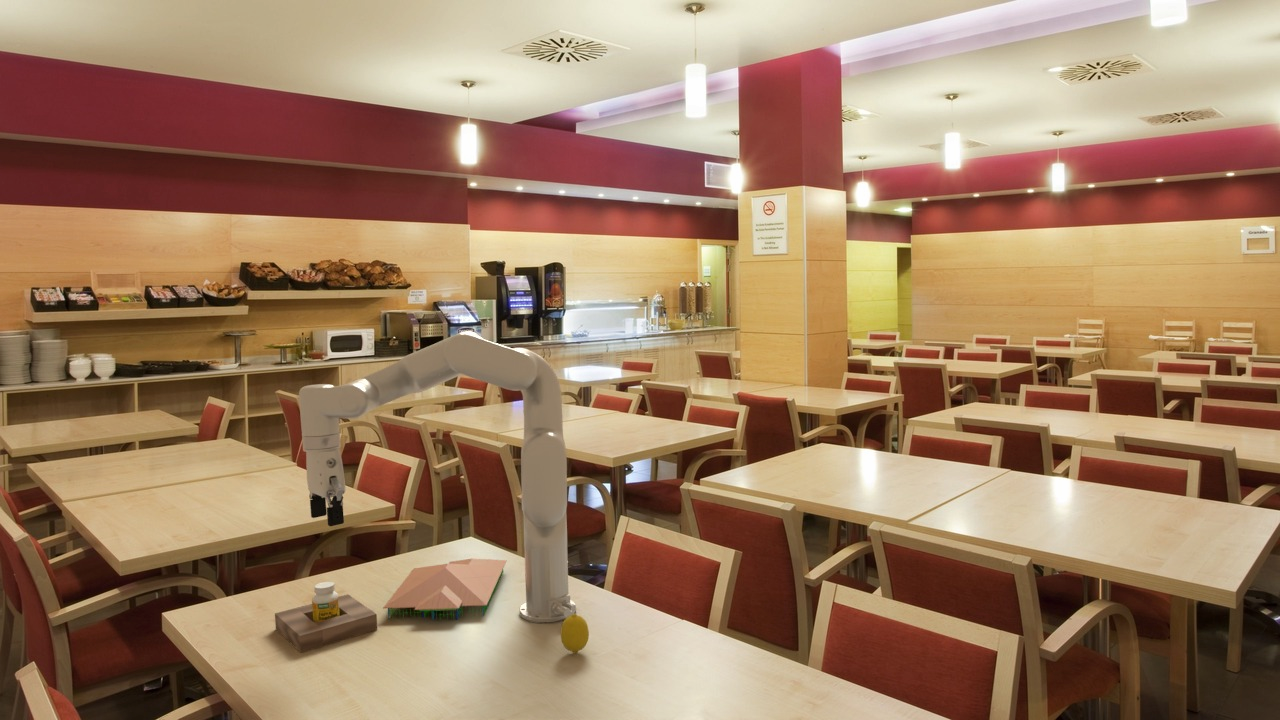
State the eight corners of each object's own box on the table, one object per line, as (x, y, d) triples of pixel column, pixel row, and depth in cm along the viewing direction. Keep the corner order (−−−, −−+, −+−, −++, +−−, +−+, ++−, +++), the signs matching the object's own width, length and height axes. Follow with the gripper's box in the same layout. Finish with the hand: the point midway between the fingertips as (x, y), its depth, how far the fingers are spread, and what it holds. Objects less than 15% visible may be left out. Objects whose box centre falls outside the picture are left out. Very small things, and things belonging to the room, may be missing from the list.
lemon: (593, 649, 160) (592, 610, 159) (582, 661, 154) (581, 621, 154) (568, 645, 161) (567, 607, 161) (556, 657, 156) (555, 618, 156)
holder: (377, 629, 171) (376, 613, 171) (300, 652, 161) (299, 635, 161) (348, 609, 183) (347, 594, 183) (275, 629, 173) (274, 613, 173)
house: (379, 627, 174) (378, 591, 173) (418, 574, 207) (417, 544, 206) (484, 624, 174) (483, 588, 174) (507, 572, 207) (506, 542, 206)
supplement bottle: (337, 620, 176) (334, 578, 175) (342, 629, 171) (340, 585, 171) (311, 626, 173) (308, 583, 172) (316, 635, 168) (314, 591, 168)
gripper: (355, 444, 166) (360, 524, 168) (324, 435, 179) (329, 510, 180) (318, 449, 161) (324, 532, 163) (289, 440, 174) (295, 517, 175)
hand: (327, 520), depth 171 cm, fingers open, 9 cm apart
